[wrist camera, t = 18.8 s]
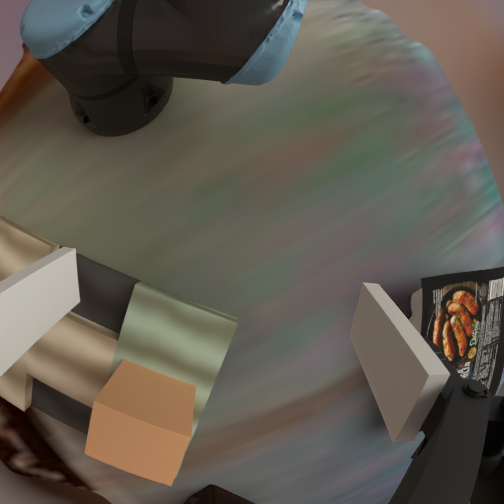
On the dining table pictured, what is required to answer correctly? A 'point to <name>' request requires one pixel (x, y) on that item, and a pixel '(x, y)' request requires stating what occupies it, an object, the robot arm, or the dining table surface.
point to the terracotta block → (142, 422)
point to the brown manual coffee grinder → (216, 497)
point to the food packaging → (465, 321)
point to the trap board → (109, 337)
